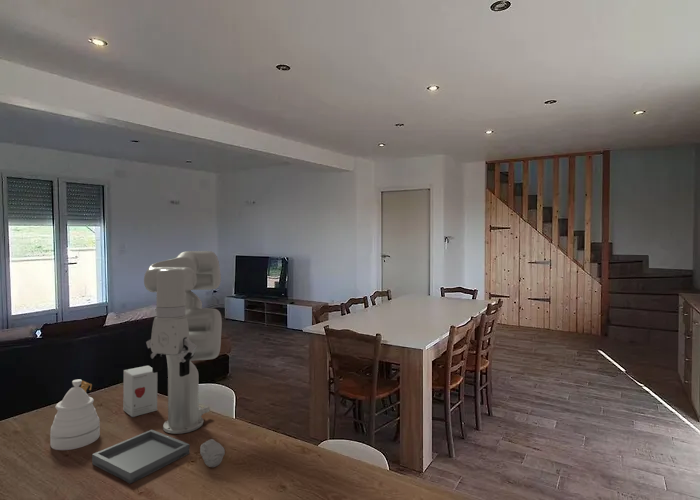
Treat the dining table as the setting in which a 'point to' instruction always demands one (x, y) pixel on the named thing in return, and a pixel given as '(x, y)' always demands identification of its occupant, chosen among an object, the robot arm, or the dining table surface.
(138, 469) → the tray
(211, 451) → the frog figurine
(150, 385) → the supplement box
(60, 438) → the honey pot
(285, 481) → the dining table surface
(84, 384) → the figurine
